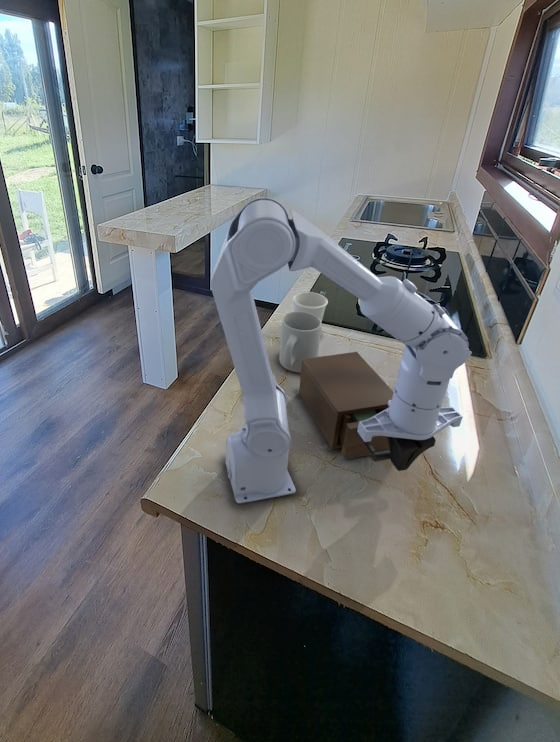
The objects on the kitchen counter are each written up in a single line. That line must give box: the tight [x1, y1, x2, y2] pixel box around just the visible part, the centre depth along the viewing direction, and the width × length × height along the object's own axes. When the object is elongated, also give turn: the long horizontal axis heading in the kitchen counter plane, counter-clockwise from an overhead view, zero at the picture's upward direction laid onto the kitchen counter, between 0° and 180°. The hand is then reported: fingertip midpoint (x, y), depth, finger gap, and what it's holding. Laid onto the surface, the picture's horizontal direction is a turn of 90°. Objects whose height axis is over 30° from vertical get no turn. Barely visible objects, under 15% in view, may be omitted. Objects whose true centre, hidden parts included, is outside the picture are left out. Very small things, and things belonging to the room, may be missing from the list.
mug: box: [278, 311, 322, 374], centre depth 85 cm, size 12×8×11 cm
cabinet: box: [298, 351, 394, 450], centre depth 71 cm, size 15×12×9 cm
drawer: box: [338, 407, 390, 463], centre depth 66 cm, size 18×10×7 cm, turn 10°
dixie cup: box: [292, 291, 329, 323], centre depth 97 cm, size 8×8×10 cm
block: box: [349, 410, 377, 423], centre depth 67 cm, size 4×4×4 cm
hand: (398, 464), depth 57 cm, fingers closed, pressing on drawer
